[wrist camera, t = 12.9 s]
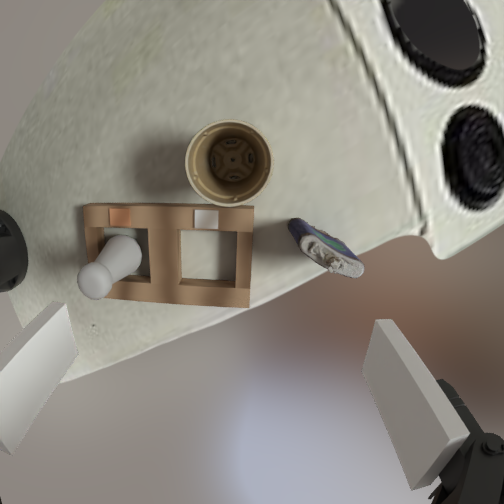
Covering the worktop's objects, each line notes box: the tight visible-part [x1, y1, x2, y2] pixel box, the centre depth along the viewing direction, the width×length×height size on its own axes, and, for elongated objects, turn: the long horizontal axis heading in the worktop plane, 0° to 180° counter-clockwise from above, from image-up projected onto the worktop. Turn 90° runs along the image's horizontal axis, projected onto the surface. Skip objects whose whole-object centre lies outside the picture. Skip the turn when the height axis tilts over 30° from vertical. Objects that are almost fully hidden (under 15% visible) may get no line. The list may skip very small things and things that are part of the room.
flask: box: [288, 218, 364, 278], centre depth 39 cm, size 9×3×11 cm, turn 62°
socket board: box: [83, 203, 254, 308], centre depth 43 cm, size 24×14×3 cm, turn 87°
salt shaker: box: [77, 235, 142, 300], centre depth 38 cm, size 6×6×13 cm
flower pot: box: [185, 119, 274, 207], centre depth 36 cm, size 9×9×9 cm
